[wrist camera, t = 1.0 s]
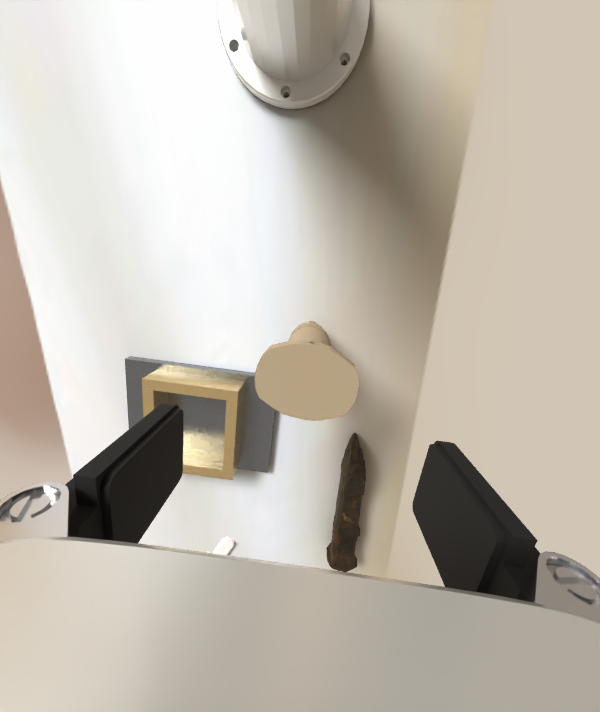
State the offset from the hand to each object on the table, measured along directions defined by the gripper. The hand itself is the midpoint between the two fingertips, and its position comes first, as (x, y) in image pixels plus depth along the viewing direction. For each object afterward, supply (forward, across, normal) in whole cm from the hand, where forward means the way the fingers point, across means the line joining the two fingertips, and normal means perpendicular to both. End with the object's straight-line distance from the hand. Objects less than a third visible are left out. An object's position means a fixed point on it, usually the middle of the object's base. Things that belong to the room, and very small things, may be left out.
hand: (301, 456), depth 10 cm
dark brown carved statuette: (+22, -7, +21) cm, 31 cm away
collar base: (+22, +12, +12) cm, 28 cm away
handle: (+22, 0, 0) cm, 22 cm away
